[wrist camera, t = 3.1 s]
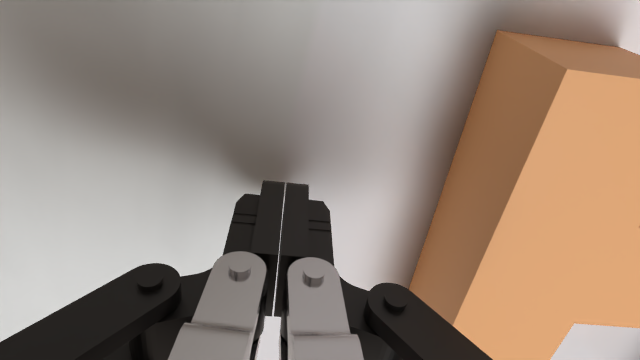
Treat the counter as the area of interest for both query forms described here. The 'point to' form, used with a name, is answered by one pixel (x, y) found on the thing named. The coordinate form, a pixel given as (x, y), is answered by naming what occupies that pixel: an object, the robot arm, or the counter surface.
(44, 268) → the counter surface
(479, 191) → the t block
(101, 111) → the counter surface
